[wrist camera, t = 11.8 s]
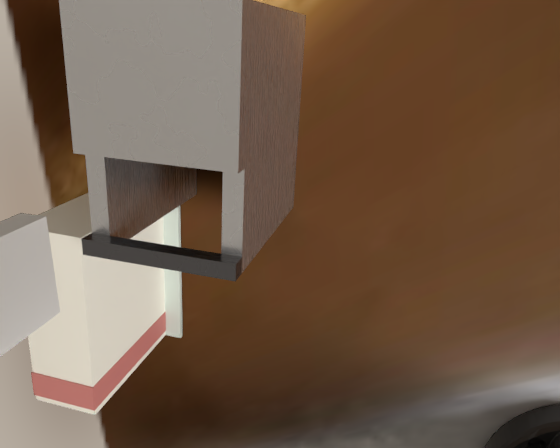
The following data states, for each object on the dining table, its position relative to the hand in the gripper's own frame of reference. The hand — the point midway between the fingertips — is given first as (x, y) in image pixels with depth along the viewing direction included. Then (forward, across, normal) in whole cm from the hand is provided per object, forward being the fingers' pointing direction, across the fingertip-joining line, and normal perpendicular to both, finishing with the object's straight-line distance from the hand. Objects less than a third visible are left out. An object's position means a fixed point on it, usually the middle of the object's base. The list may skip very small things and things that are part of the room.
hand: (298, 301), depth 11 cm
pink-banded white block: (+26, +20, +13) cm, 35 cm away
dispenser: (+26, +11, 0) cm, 28 cm away
